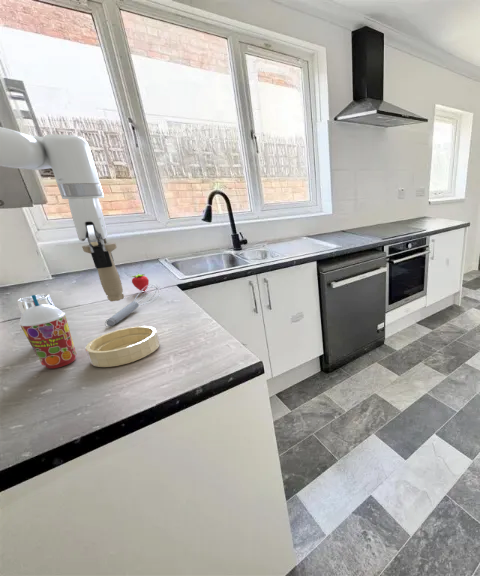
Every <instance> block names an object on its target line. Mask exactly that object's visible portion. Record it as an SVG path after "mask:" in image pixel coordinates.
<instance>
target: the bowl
mask: <svg viewBox="0 0 480 576" xmlns="http://www.w3.org/2000/svg"><path fill="white" fill-rule="evenodd" d="M160 345H161V344H160V339H159V335H158V331H157V329H156V328H155V327H153V326H148V325H137V326H129V327H125V328H120V329H115V330H113V331H110V332H108V333H104V334H102V335H100V336H98V337H96V338H94V339H93V340H90V341H89V342H88V343H87V344H86V346H85V348H84V349H85V352H86V354H87V357H88V360H89V362H90V364H91V365H92V366H93V367H98V368H111V367H118V366H124V365H127V364H130V363H134V362H136V361H139V360H141V359H144V358H145V357H147V356H149V355H151V354H152V353H154V352H155V351H156V350H158V348H159V347H160Z"/></svg>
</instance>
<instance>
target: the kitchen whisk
mask: <svg viewBox="0 0 480 576" xmlns="http://www.w3.org/2000/svg"><path fill="white" fill-rule="evenodd" d="M147 286H148V289H151V288H154V289H152V290H150V291H149V292H147V293H146V294H143V295H142V297H139V298H138V296H139V295H140V293H141V292H142V291H143V289H144V288H145V287H146V286H145V287H144V288H143V289H142V290H141V291H140V290H139V293H138V294H137V295H136V296H135V298H134V300H133V301H131V302H130V303H129V304H127V305H125V307H123V308H121V309H120V310H119V311H118V312H116V313H115V314H113V315H112V316H110V317H109V318H107V319H106V320H105V321H104V326H105V327H106V328H108V327H112V326H113V327H114V326H115V325H117V324H118V323H120V321H122V320H123V319H124V318H126V317H127V316H129V315H130V314H131V313H132V312H134V311H135V310H136V309H138V308H139V307H140V306H145V305H147V304H148V302H151V300H152V301H153V300H155V299H156V298H157V297H158V296H159V295H157V296H155V295H156V294H157V291H159V290H160V291H162V289H161V288H162V287H161V286H159V287H158V284H156V283H154V284H152V285H150V287H149V284H148V285H147ZM156 286H157V287H156ZM151 292H152V293H151ZM149 293H151V294H149ZM148 294H149V295H148ZM146 295H148V296H146ZM151 295H153V296H155V297H154V298H153V297H152V298H150V300H149V299H148V300H149V301H148V300H146V301H144V300H145V299H146V298H148V297H149V296H151ZM145 296H146V297H145ZM137 298H138V299H137ZM158 298H159V297H158ZM142 301H144V302H142ZM142 303H143V304H142Z"/></svg>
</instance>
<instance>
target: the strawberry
mask: <svg viewBox="0 0 480 576" xmlns="http://www.w3.org/2000/svg"><path fill="white" fill-rule="evenodd" d="M130 278H132V279H131V283H132V285H133V287H135V288H136V289H137V290H138V291H139V292H140V291H141V290H142V289H143V288H144V287H145V286H146V287H145V288H144V289H143V291H145V290H146V291H147V290H148V288H149V285H150V283H149V281H150V280H149V278H148V277H147V276H146V274H145V273H143V274H140V273H139V272H137V275H131V276H130ZM147 285H148V286H147ZM146 291H145V292H146ZM141 292H142V291H141Z"/></svg>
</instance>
